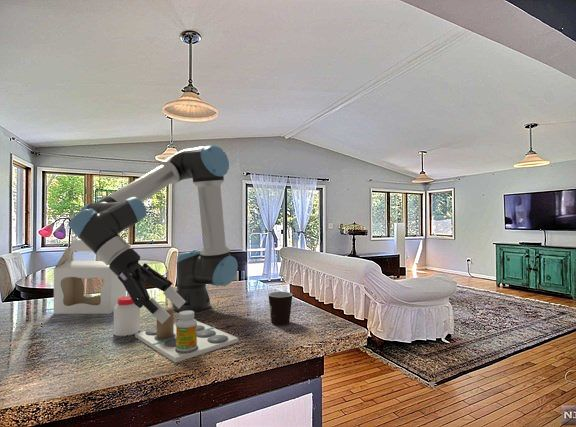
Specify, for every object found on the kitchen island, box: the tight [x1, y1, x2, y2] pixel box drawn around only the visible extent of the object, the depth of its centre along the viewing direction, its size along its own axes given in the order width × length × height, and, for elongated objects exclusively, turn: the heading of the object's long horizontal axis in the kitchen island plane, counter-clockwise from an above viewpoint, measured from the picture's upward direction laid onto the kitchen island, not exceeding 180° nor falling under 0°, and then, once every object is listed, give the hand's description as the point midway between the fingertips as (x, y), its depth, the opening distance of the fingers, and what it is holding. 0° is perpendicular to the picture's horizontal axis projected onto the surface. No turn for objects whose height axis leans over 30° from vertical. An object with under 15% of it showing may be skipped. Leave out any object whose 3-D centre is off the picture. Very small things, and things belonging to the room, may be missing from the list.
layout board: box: [134, 306, 239, 363], centre depth 102 cm, size 26×20×10 cm
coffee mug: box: [267, 291, 293, 327], centre depth 120 cm, size 12×9×10 cm
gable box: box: [53, 239, 127, 315], centre depth 135 cm, size 22×13×28 cm, turn 92°
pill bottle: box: [112, 295, 141, 337], centre depth 109 cm, size 8×8×11 cm
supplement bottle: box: [176, 311, 198, 351], centre depth 91 cm, size 5×5×10 cm
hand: (175, 312), depth 91 cm, fingers open, 13 cm apart
